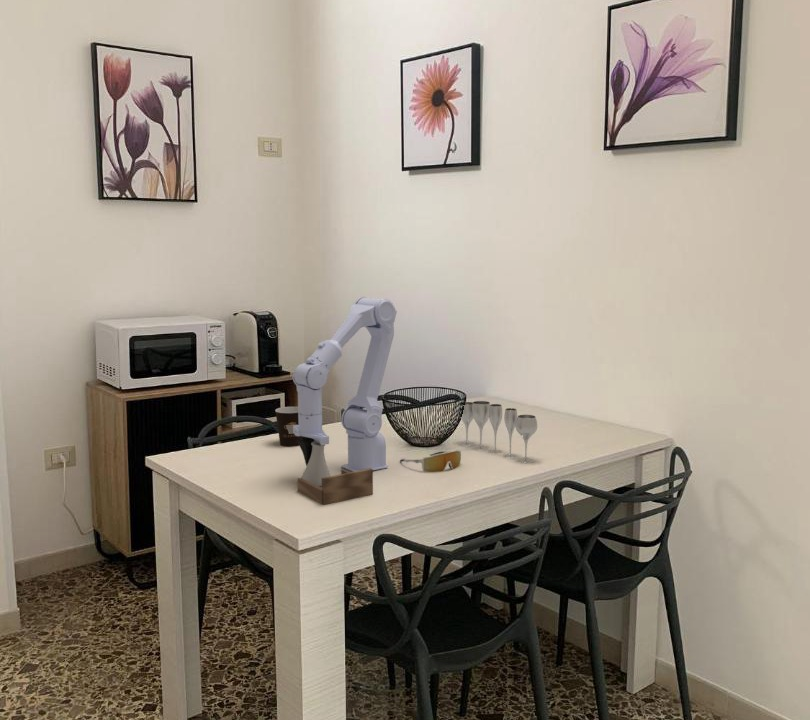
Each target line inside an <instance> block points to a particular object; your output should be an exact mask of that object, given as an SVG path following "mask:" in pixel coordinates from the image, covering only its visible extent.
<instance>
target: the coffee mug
mask: <svg viewBox="0 0 810 720" xmlns="http://www.w3.org/2000/svg"><path fill="white" fill-rule="evenodd" d="M275 418H276V423H277V424H276V425H277V431H278V439H279V445H280V446H282V447H290V448H291V447H298V446H299V444H298V442H297V440H299V439H302V438H303V436H296V435H295V434H294V433H293V426H294V425H299V419H298V406H285V407H284V406H283V407H278V408H276V409H275ZM299 447H300V446H299Z"/></svg>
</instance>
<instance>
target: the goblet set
mask: <svg viewBox="0 0 810 720" xmlns="http://www.w3.org/2000/svg"><path fill="white" fill-rule="evenodd" d="M464 402H465V405H463V406H464V410H463V414H462V417H460V419H461V421H462V423H463V424H464V426H465V441H461V442H459V443H458V444H459V445H460V446H465V447H466V446H469V447H470V446H471V447H472V449H474V450H477V451H478V450H479V451H482V450H485V451H486V450H488V451H487V452H488V454H494V455H497V454H502V453H503V451H502V450H500V449H497V434H498V429H499V427H500V424H501V423H502V419H504V424H505V428H506V430H507V432H508V436H509V453H504V454H503V455H502V457H504V458H509V459H513V458H514V459H515V458H517V457H518V455H517V454H514V453H512V437H513V433H514V430H516V431H517V434H519V435H520V437H522V439H523V441H524V442H523V443H524V450H525V451H524V457H518V458H517V459H516V460H517V462H519V463H524V464H527V463H528V464H531V463H534V462H535V459H534V458H531V457H527V454H528V453H527V450H528V442H529V440H530V438H531V437H533V435H534V434H536V432H537V430H538V421H537V418H536V416H535V415H534V414H533V415H532V414H519V415H518V410H517V409H516V408H514V407H513V408H512V407H509V408H507V407H506V408H505V409H504V414H503V406H502V404H499V403H492V404H491V403H490V402H489V401H485V400H476V401H464ZM503 415H504V418H503ZM488 420H489V423H490V425H491V426H492V429H493V433H494V436H493V437H494V449H490V448H489V446H487V445H482V438H483V436H482V435H483V428H484V427H485V425H486V423H487V422H488ZM472 421H474V422H475V423H476V425H477V426H478V428H479V444H478V445H475V443H474V442H473V441H469V440H468V437H469V436H468V435H469V433H468V432H469V426H470V425H471V423H472ZM489 449H490V450H489Z"/></svg>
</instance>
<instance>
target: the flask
mask: <svg viewBox="0 0 810 720" xmlns="http://www.w3.org/2000/svg"><path fill="white" fill-rule="evenodd" d="M311 445H312V453H311V457H310V460H309V462H308V464H307V467H306V466H305V469H304V471H303V474H302V475H301V477H300V478H302V479H304V480H306V481H308V482H310V483H313V484H315V485H317V486H319V487H322V478H324V477H329V476H331V473H330V470H329V467H328V465H327V461H326V458H325V457H326V456H325V446H326V444H325V445H320V443H319V442H317V441H313V442H312V443H311Z"/></svg>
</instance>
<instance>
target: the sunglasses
mask: <svg viewBox="0 0 810 720" xmlns="http://www.w3.org/2000/svg"><path fill="white" fill-rule="evenodd" d="M461 459H462V452H461V450H459V449H456V450H440V451H437V452H434V453H433V452H432V453H431V454H429V456H425V457H422V458H415V459H413V458H412V459H406V458H400V459H399V463H402V462H405V463H409V462H410V463H411V462H412V463H415V464H419V463H420V464H421V468H422V471H423V472H424V473H435V472H444V471H445V470H446V468H447V466H448V467H449V468H450V469H451V470H453V469H455V468H457V467H459V466H460V464H461Z"/></svg>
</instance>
